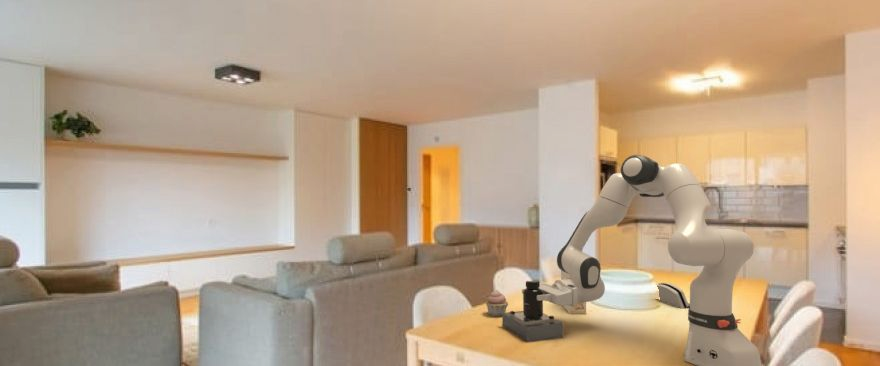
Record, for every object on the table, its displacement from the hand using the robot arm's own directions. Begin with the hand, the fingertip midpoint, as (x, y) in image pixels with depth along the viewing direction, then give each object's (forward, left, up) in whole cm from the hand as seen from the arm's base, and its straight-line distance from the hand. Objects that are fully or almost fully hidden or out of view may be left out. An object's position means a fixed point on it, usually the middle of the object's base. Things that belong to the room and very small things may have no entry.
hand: (529, 294), depth 167 cm
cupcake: (+24, +1, -13) cm, 28 cm away
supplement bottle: (-2, -1, -7) cm, 8 cm away
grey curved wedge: (+15, -79, -14) cm, 81 cm away
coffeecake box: (+21, -33, -13) cm, 41 cm away
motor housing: (+2, -1, -13) cm, 13 cm away
